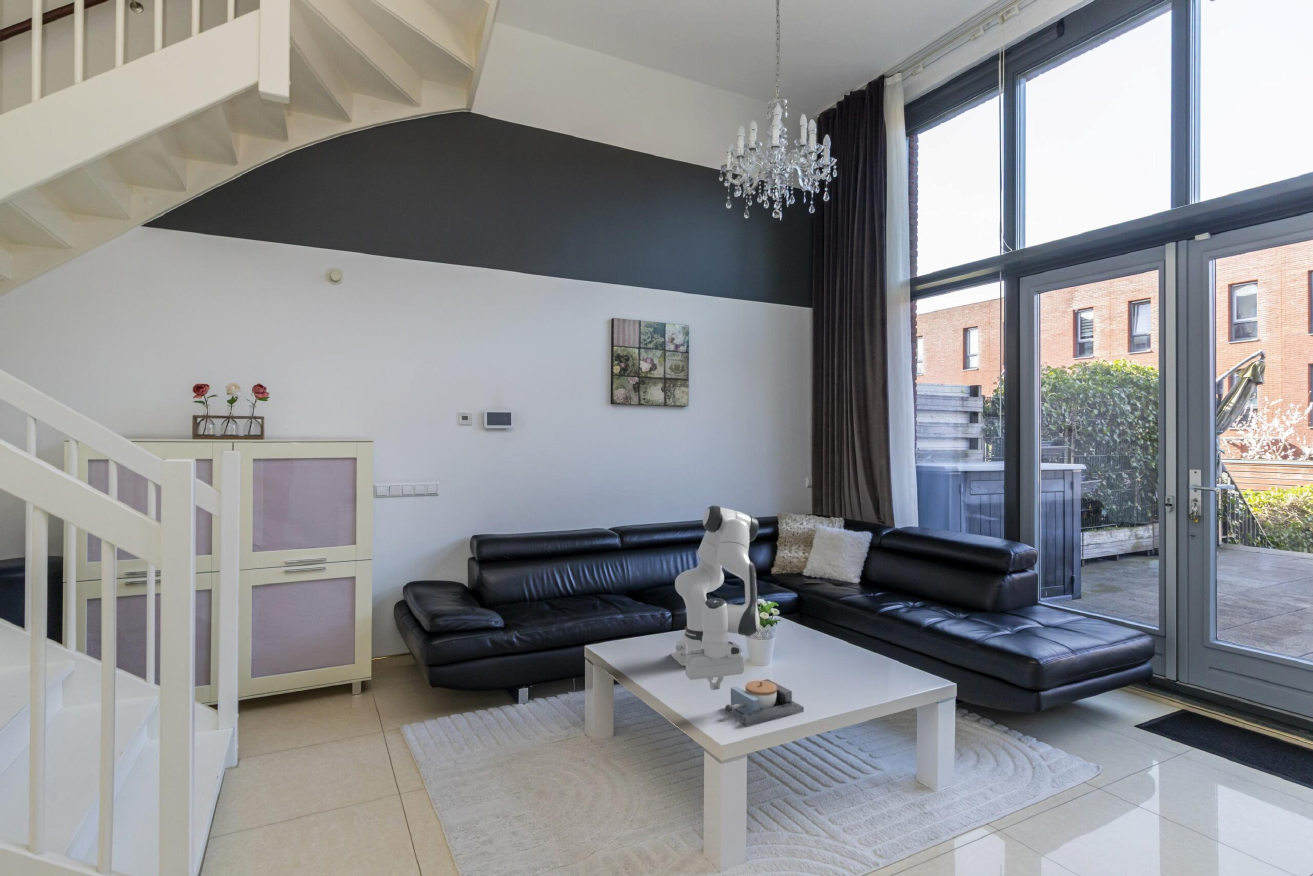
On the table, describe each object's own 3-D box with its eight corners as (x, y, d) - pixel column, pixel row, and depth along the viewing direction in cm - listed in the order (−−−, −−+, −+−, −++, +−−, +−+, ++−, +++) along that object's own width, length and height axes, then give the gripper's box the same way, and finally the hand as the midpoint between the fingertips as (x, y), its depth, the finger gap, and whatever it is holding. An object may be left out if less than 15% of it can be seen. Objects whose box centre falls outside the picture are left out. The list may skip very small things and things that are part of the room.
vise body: (718, 709, 224) (718, 690, 224) (774, 695, 236) (774, 677, 236) (745, 726, 211) (745, 706, 211) (803, 711, 222) (803, 692, 222)
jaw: (713, 709, 223) (713, 691, 223) (737, 704, 228) (737, 686, 228) (735, 724, 212) (735, 705, 212) (760, 717, 216) (760, 699, 216)
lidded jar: (739, 708, 225) (738, 681, 225) (759, 700, 232) (758, 673, 232) (763, 718, 217) (763, 690, 217) (783, 709, 224) (783, 681, 224)
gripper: (689, 654, 215) (689, 696, 215) (746, 648, 221) (746, 689, 222) (682, 648, 221) (682, 689, 221) (738, 642, 227) (738, 682, 228)
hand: (714, 689), depth 221 cm, fingers closed
